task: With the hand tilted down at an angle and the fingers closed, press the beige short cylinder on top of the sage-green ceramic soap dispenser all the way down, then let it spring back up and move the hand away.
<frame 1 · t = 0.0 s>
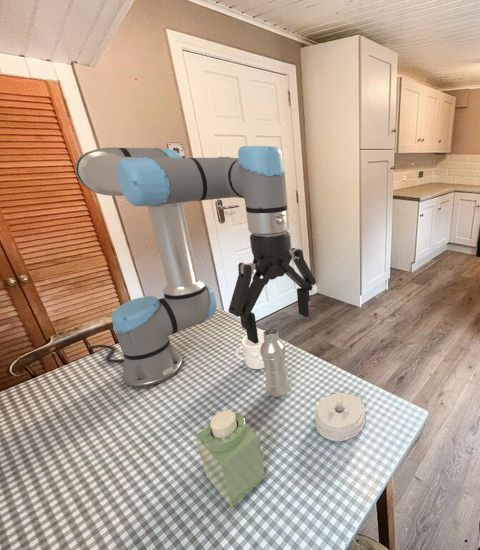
hand: (280, 327, 66), 28 cm above the table, tool pointing down, fingers open, 13 cm apart
plastic bottle: (278, 392, 87), on the table
dispenser: (235, 476, 64), on the table
mug: (257, 363, 99), on the table
beige short cylinder: (224, 424, 58), point 15 cm above the table, slide at 0.1 cm
lid: (340, 422, 77), on the table
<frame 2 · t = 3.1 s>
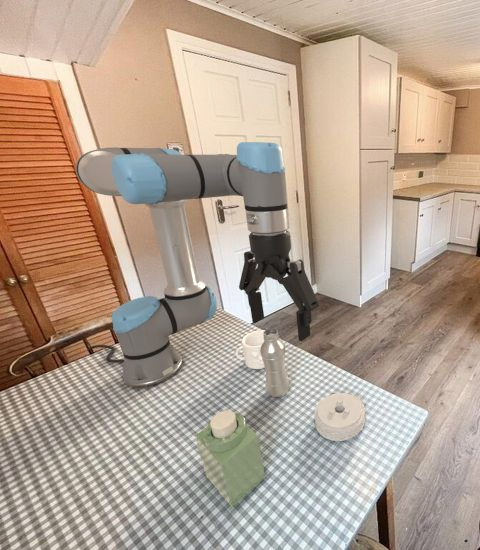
hand: (280, 328, 65), 29 cm above the table, tool pointing down, fingers open, 13 cm apart
nothing on the table moved.
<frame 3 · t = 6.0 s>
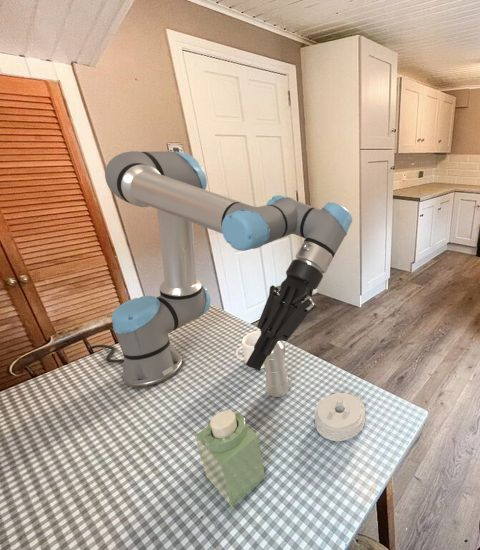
hand: (252, 367, 60), 24 cm above the table, tool tilted 45°, fingers closed
nothing on the table moved.
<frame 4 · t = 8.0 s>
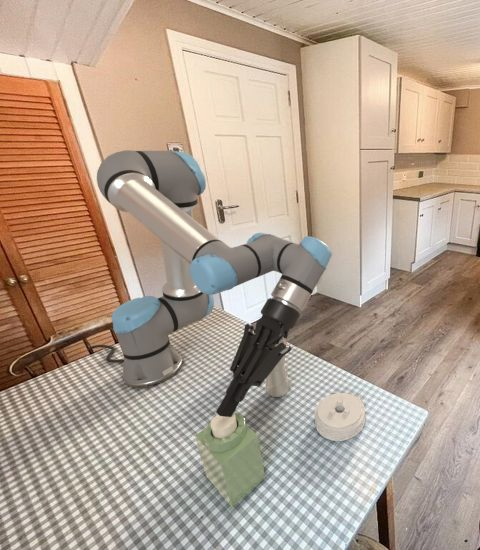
hand: (223, 414, 58), 17 cm above the table, tool tilted 45°, fingers closed
beige short cylinder: (224, 425, 58), point 15 cm above the table, slide at -0.2 cm, touching gripper
everything else where it was.
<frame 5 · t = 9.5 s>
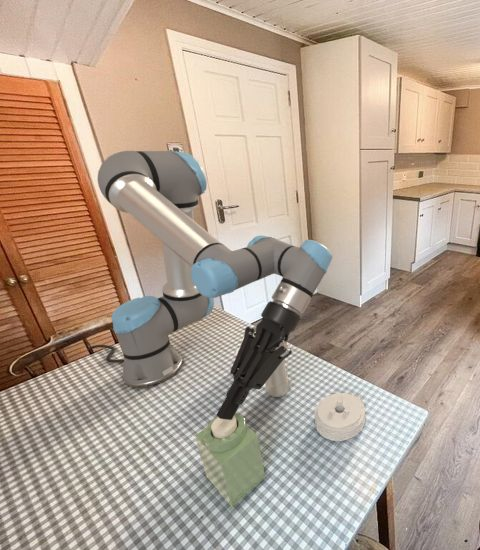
hand: (223, 417, 58), 16 cm above the table, tool tilted 45°, fingers closed
beige short cylinder: (224, 427, 59), point 14 cm above the table, slide at -0.8 cm, touching gripper
everything else where it was.
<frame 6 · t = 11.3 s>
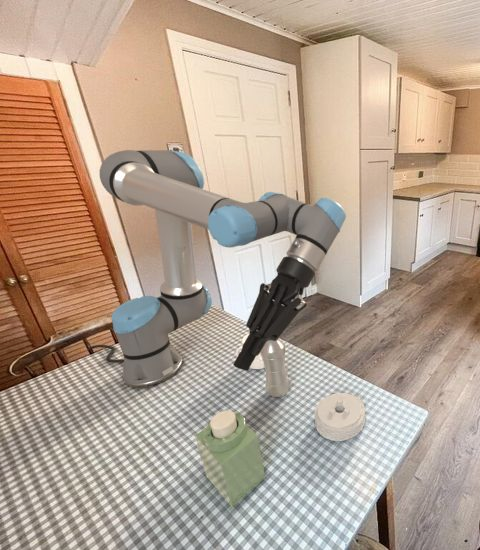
hand: (240, 367, 58), 25 cm above the table, tool tilted 45°, fingers closed
beige short cylinder: (224, 424, 58), point 15 cm above the table, slide at 0.1 cm
everything else where it was.
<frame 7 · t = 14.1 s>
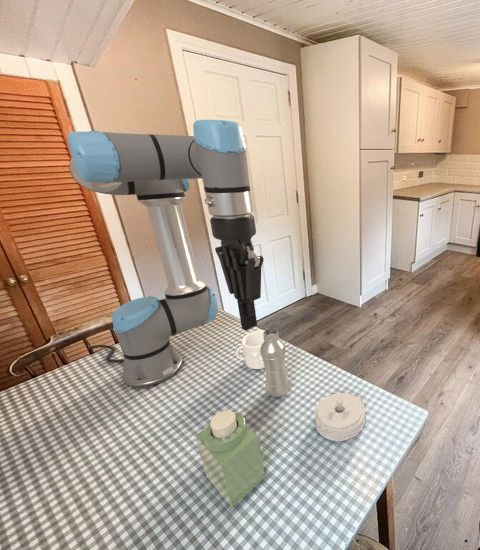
hand: (249, 326, 64), 29 cm above the table, tool pointing down, fingers closed
nothing on the table moved.
at the end: beige short cylinder pushed in 1.6 cm at the most during the clip, back to where it started at the end; beige short cylinder slide at 0.1 cm; plastic bottle moved 0.2 cm from its start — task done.
